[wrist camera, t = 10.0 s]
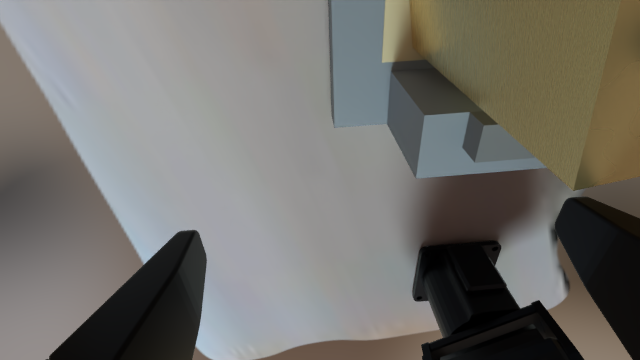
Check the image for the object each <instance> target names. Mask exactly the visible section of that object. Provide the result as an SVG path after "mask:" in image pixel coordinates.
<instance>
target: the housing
mask: <svg viewBox="0 0 640 360" xmlns="http://www.w3.org/2000/svg"><path fill="white" fill-rule="evenodd" d="M409 4H410V19H411V33H412V48H413V49H415V50H416V51H417V52H418V53H419V54H420V55H421V56H422V57H424V58H425V59H426V60H427V61H428V62H429V63H430V64H431V65H432V66H434V67H435V68H436V69H437V70H438V71H439V72H440V73H441V74H443V75H444V76H445V77H446V78H447V79H448V80H449V81H450V82H452V83H453V84H454V85H455V86H456V87H457V88H458V89H459V90H461V91H462V92H463V93H464V94H465V95H466V96H467V97H468V98H470V99H471V100H472V101H473V102H474V103H475V104H476V105H477V106H479V107H480V108H481V109H482V110H483V111H484V112H485V113H486V114H487V115H489V116H490V117H491V118H492V119H493V120H494V121H495V122H496V123H498V124H499V125H500V126H501V127H502V128H503V129H504V130H505V131H507V132H508V133H509V134H510V135H511V136H512V137H513V138H514V139H516V140H517V141H518V142H519V143H520V144H521V145H522V146H523V147H525V148H526V149H527V150H528V151H529V152H530V153H531V154H532V155H533V156H535V157H536V158H537V159H538V160H539V161H540V162H541V163H542V164H544V165H545V166H546V167H547V168H548V169H549V170H550V171H551V172H553V173H554V174H555V175H556V176H557V177H558V178H559V179H560V180H562V181H563V182H564V183H565V184H566V185H567V186H568V187H569V188H571V189H572V190H573V191H575V190H580V189H584V188H589V187H593V186H598V185H603V184H607V183H612V182H616V181H621V180H625V179H630V178H635V177H639V176H640V0H409Z"/></svg>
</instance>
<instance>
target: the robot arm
mask: <svg viewBox="0 0 640 360" xmlns="http://www.w3.org/2000/svg"><path fill="white" fill-rule="evenodd" d="M555 230H556V233H557V235H558V237H559V239H560V241H561V243H562V244H563V246H564V248H565V250H566V252H567V254H568V256H569V258H570V260H571V262H572V263H573V265H574V267H575V269H576V271H577V273H578V275H579V277H580V279H581V280H582V282H583V284H584V286H585V287H586V289H587V291H588V292H589V294H590V295H591V297H592V299H593V300H594V302H595V303H596V305H597V306H598V308H599V309H600V311H601V312H602V314H603V315H604V317H605V318H606V320H607V321H608V323H609V324H610V326H611V327H612V329H613V330H614V332H615V333H616V335H617V336H618V338H619V339H620V341H621V343H622V344H623V345H624V347H625V349H626V350H627V352H628V353H629V355H630V356H631V358H632V359H633V360H640V218H637V217H635V216H632V215H630V214H628V213H625V212H623V211H620V210H618V209H615V208H613V207H611V206H608V205H606V204H603V203H601V202H599V201H596V200H594V199H591V198H589V197H572V198H568V199H567V200H566V201H565V202H564V204H563V206H562V209H561V211H560V213H559V215H558V217H557V219H556V222H555ZM500 250H501V245H500V244H499V242H498V241H486V242H475V243H464V244H453V245H441V246H430V247H424V248H422V249H421V250H420V253H419V259H418V265H417V271H416V277H415V283H414V289H413V298H414V300H415V301H429V303H430V305H431V308H432V311H433V313H434V316H435V318H436V321H437V323H438V326H439V329H440V331H441V334H442V336H443V338H442V339H439V340H436V341H434V342H431V343H428V342H427V343H425V344H422V345H421V346H422V351H423V356H422V359H423V360H584V359H583V357H582V356H581V355H580V353H579V352H578V350H577V349H576V347H575V346H574V345H573V343H572V342H571V341H570V340H569V338H568V337H567V336H566V334H565V333H564V332H563V331H562V329H561V328H560V327H559V325H558V324H557V323H556V321H555V320H554V319H553V318H552V316H551V315H550V314H549V312H548V311H547V310H546V308H545V307H544V306H543V305H542V303H541V302H540V301H539V300H538V301H535V302H533V303H531V305H529V306H526V307H524V308H521V309H520V307H519V306H518V304H517V303H516V301H515V299H514V298H513V296H512V295H511V293H510V291H509V290H508V288H507V287H506V286H507V285H506V283H505V281H504V280H503V278H502V277H501V275H500V273H499V272H498V270H497V269H496V267H495V264H496V262H497V259H498V256H499V253H500ZM206 264H207V258H206V253H205V250H204V247H203V244H202V241H201V238H200V235H199V233H198V232H197V231H196V230H187V231H180V232H178V233H177V234H175V235H174V236H173V237H172V238H171V239H170V240H169V241H168V242H167V243H166V244H165V245H164V246H163V247H162V248H161V249H160V250H159V251H158V252H157V253H156V254H155V255H154V256H153V257H152V258H151V259H150V260H148V261H147V262H146V263H145V264H144V265H143V266H142V267H141V268H140V269H139V270H138V271H137V272H136V273H135V274H134V275H133V276H132V277H131V278H130V279H129V280H128V281H127V282H126V283H125V284H124V285H123V286H122V287H121V288H119V289H118V290H117V291H116V292H115V293H114V294H113V295H112V296H111V297H110V298H109V299H108V300H107V301H106V302H105V303H104V304H103V305H102V306H101V307H100V308H99V309H98V310H97V311H96V312H94V313H93V314H92V315H91V316H90V317H89V319H87V320H86V321H85V322H84V323H83V324H82V325H81V326H80V327H79V328H78V329H77V330H76V331H75V332H74V333H73V334H72V335H71V336H70V337H68V338H67V339H66V340H65V341H64V342H63V343H62V344H61V345H60V346H59V347H58V348H57V349H56V350H55V351H54V352H53V353H52V354H51V355H50V356H49V359H46V360H192V358H193V353H194V349H195V344H196V340H197V336H198V331H199V326H200V319H201V311H202V302H203V292H204V283H205V273H206Z"/></svg>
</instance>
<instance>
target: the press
mask: <svg viewBox="0 0 640 360" xmlns="http://www.w3.org/2000/svg"><path fill="white" fill-rule="evenodd" d="M328 4H329V38H330V72H331V105H332V119H333V123H334V128H338V127H351V126H364V125H377V124H387V125H388V127H389V128H390V130H391V132H392V134H393V136H394V138H395V140H396V142H397V144H398V145H399V147H400V149H401V151H402V153H403V155H404V157H405V159H406V161H407V162H408V164H409V166H410V168H411V170H412V172H413V174H414V176H415V178H416V179H417V178H429V177H441V176H453V175H465V174H478V173H490V172H502V171H514V170H526V169H539V168H547V167H546V166H545V165H544V164H542V163H541V162H540V161H539V160H538V159H537V158H536V157H535V156H533V155H532V154H531V153H530V152H529V151H528V150H527V149H526V148H525V147H523V146H522V145H521V144H520V143H519V142H518V141H517V140H516V139H514V138H513V137H512V136H511V135H510V134H509V133H508V132H507V131H505V130H504V129H503V128H502V127H501V126H500V125H499V124H498V123H496V122H495V121H494V120H493V119H492V118H491V117H490V116H489V115H487V114H486V113H485V112H484V111H483V110H482V109H481V108H480V107H479V106H477V105H476V104H475V103H474V102H473V101H472V100H471V99H470V98H468V97H467V96H466V95H465V94H464V93H463V92H462V91H461V90H459V89H458V88H457V87H456V86H455V85H454V84H453V83H452V82H450V81H449V80H448V79H447V78H446V77H445V76H444V75H443V74H441V73H440V72H439V71H438V70H437V69H436V68H435V67H434V66H432V65H431V64H430V63H429V62H428V61H427V60H426V59H425V58H424V57H422V56H421V55H420V54H419V53H418V52H417V51H416V50H415V49H413V48H412V33H411V19H410V4H409V0H328Z"/></svg>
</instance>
